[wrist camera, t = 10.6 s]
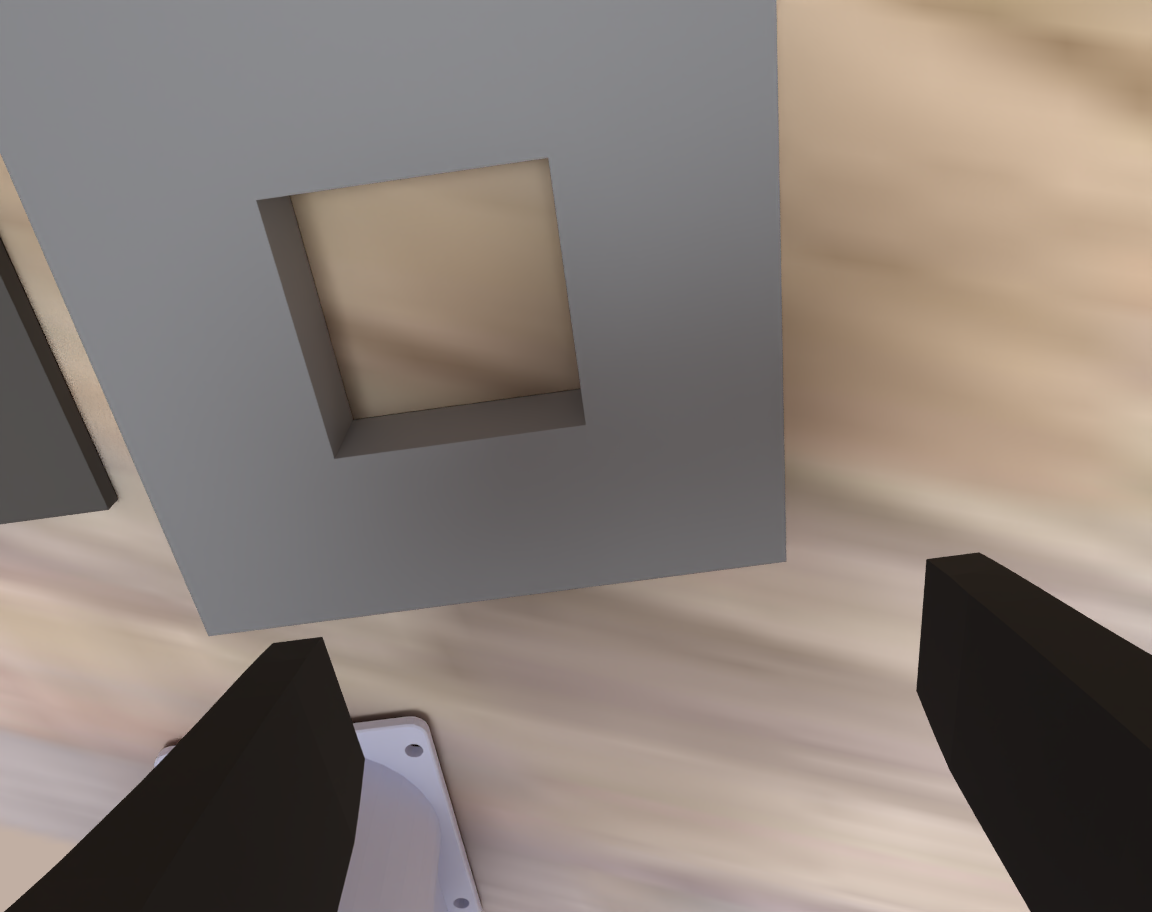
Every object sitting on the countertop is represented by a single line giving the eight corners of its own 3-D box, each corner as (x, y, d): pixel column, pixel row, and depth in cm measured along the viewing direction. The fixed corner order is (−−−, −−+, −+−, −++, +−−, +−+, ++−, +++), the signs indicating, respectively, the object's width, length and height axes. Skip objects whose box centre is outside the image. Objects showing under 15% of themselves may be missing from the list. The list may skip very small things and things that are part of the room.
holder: (766, 517, 21) (786, 561, 20) (236, 586, 22) (208, 636, 20) (746, -138, 15) (773, -159, 13) (-6, -21, 15) (-78, -27, 14)
